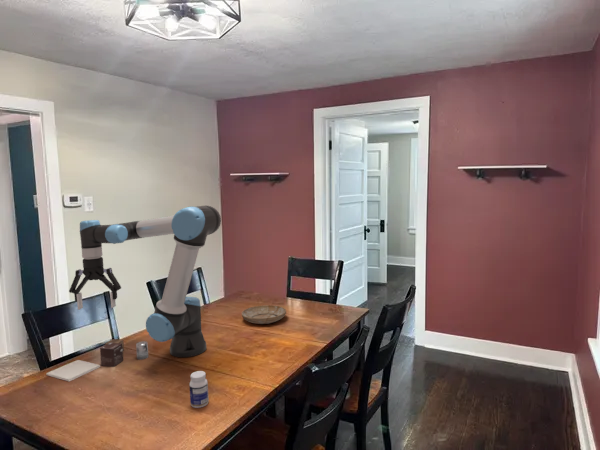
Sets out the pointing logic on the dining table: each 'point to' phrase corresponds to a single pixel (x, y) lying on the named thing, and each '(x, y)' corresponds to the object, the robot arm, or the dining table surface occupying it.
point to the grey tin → (142, 350)
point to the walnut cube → (116, 342)
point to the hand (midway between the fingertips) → (97, 307)
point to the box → (111, 354)
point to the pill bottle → (198, 389)
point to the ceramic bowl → (263, 314)
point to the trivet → (73, 370)
